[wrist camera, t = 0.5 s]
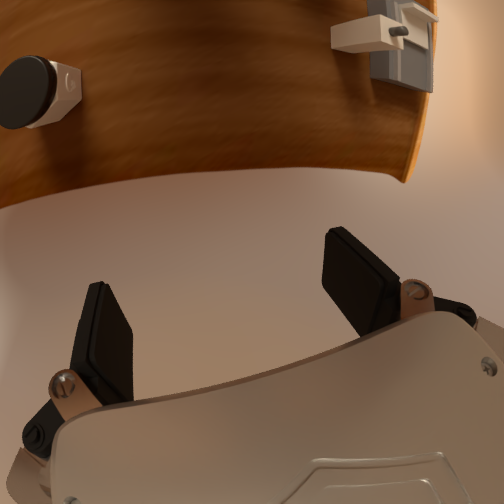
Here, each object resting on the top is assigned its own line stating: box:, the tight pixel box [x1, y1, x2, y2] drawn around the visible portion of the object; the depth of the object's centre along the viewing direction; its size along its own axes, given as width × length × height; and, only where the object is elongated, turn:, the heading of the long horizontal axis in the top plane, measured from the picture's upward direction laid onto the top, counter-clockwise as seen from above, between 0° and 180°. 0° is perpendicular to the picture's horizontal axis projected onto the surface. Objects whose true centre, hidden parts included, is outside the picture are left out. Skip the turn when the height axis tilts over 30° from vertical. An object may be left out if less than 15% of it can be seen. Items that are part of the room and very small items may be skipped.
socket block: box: [367, 0, 433, 93], centre depth 30 cm, size 19×12×6 cm, turn 1°
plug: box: [331, 14, 409, 53], centre depth 26 cm, size 4×4×14 cm
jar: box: [0, 55, 82, 129], centre depth 20 cm, size 9×8×12 cm
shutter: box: [398, 2, 439, 50], centre depth 25 cm, size 7×7×4 cm
